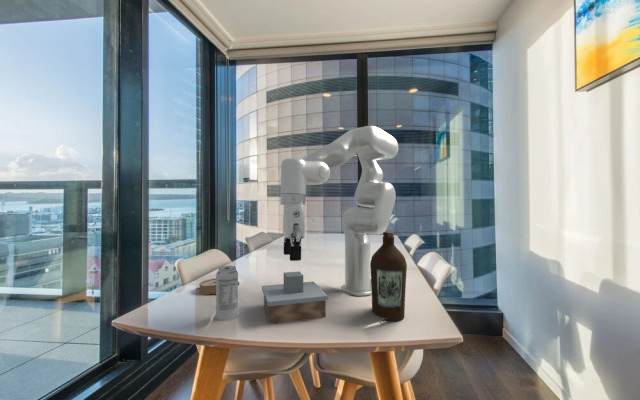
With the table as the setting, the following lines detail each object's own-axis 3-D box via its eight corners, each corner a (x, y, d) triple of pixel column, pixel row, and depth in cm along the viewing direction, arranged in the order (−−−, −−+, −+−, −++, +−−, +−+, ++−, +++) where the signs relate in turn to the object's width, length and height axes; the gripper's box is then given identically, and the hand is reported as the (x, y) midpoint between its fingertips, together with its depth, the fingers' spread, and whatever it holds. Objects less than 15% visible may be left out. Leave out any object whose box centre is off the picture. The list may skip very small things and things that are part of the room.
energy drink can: (237, 314, 88) (238, 264, 88) (237, 322, 82) (238, 269, 82) (216, 316, 86) (216, 265, 86) (215, 324, 81) (215, 270, 81)
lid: (313, 288, 98) (313, 266, 98) (327, 303, 83) (327, 278, 83) (261, 292, 93) (262, 270, 93) (267, 310, 78) (267, 283, 78)
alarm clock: (207, 278, 118) (242, 272, 116) (209, 290, 118) (245, 285, 116) (192, 286, 106) (231, 280, 105) (194, 300, 106) (233, 294, 105)
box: (312, 303, 97) (312, 285, 97) (325, 320, 84) (325, 299, 84) (263, 308, 92) (263, 289, 92) (269, 327, 79) (269, 305, 79)
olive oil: (369, 307, 94) (370, 229, 93) (403, 309, 92) (404, 230, 92) (370, 321, 83) (371, 233, 83) (409, 324, 82) (409, 234, 81)
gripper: (312, 200, 81) (311, 262, 80) (298, 200, 97) (297, 252, 97) (285, 199, 78) (284, 263, 78) (276, 200, 95) (275, 252, 95)
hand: (291, 257), depth 88 cm, fingers open, 9 cm apart
